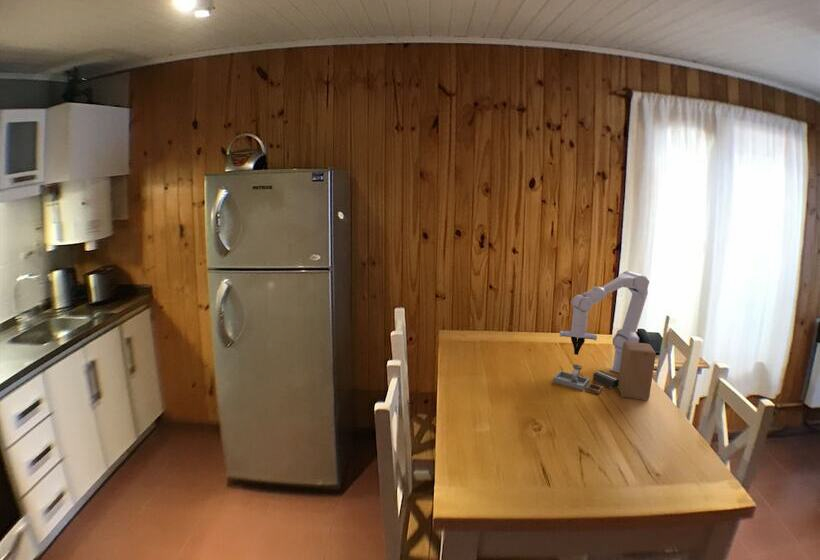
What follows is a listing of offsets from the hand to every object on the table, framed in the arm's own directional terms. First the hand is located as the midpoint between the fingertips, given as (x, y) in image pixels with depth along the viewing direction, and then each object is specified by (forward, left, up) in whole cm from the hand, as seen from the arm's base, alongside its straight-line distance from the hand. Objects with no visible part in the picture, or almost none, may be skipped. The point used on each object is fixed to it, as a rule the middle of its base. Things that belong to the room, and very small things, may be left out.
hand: (576, 353), depth 190 cm
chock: (-13, -1, -10) cm, 16 cm away
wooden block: (-24, +2, -10) cm, 26 cm away
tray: (-2, +8, -10) cm, 13 cm away
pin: (-3, +7, -9) cm, 12 cm away
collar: (-11, +8, -10) cm, 17 cm away
